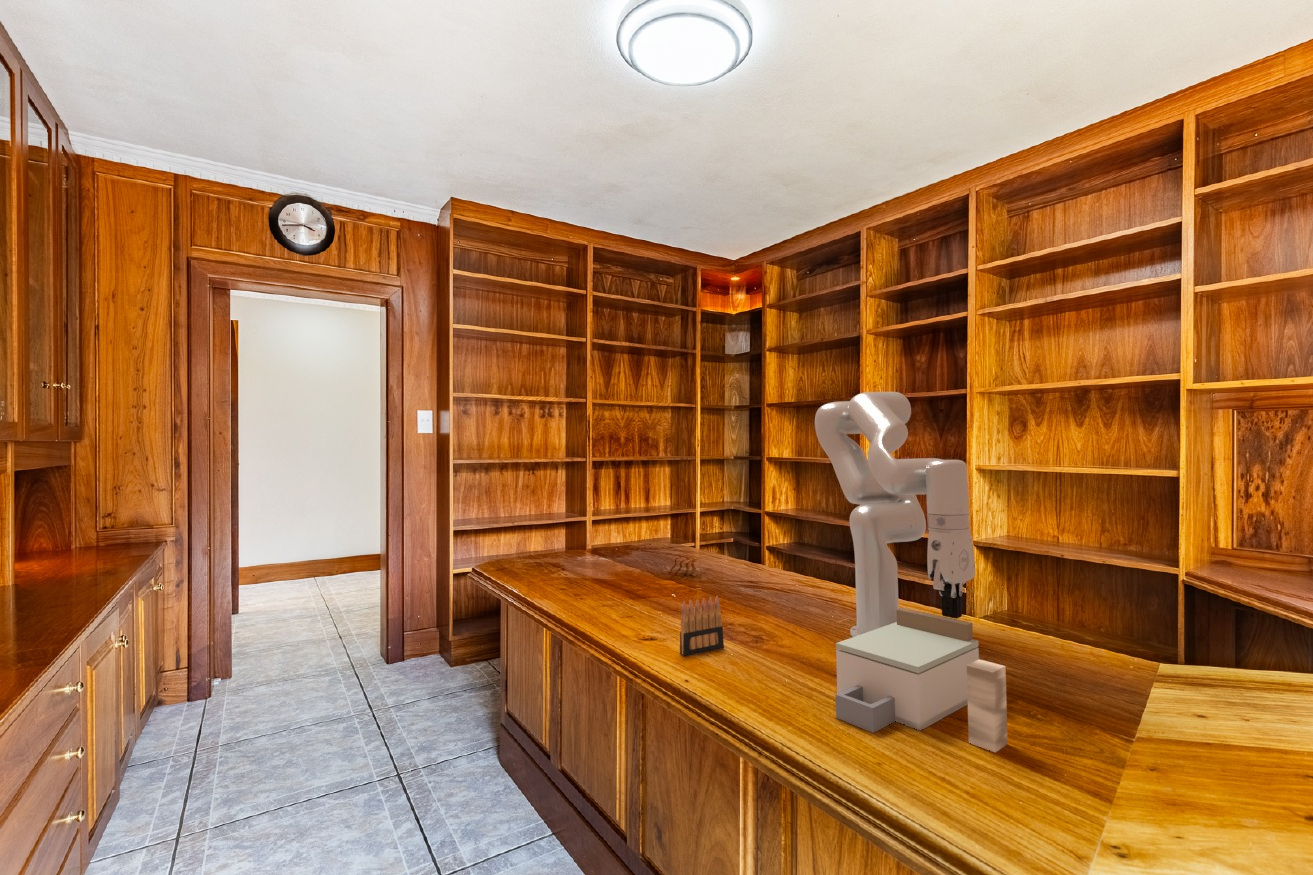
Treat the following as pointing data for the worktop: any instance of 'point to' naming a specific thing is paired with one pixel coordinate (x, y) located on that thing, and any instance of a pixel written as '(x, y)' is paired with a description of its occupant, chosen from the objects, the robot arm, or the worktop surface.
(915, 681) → the toolbox
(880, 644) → the toolbox lid
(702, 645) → the ammunition clip
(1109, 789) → the worktop surface
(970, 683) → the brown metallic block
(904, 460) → the robot arm
